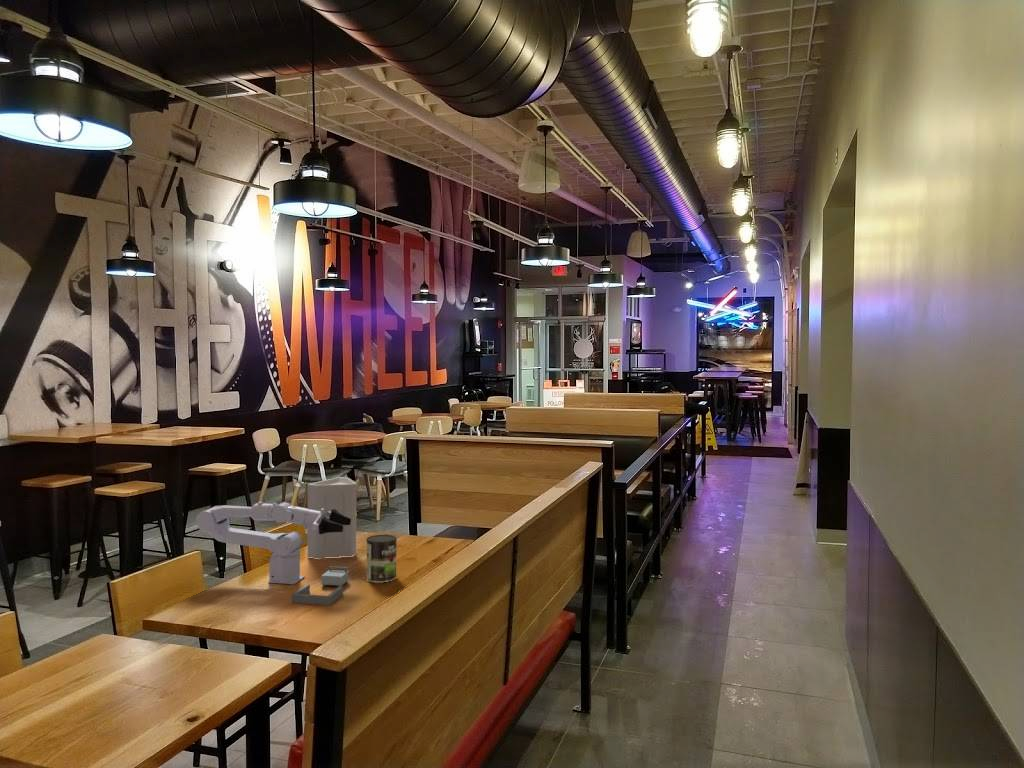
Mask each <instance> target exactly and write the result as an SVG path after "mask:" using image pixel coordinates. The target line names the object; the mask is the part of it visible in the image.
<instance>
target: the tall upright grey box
mask: <svg viewBox="0 0 1024 768" xmlns="http://www.w3.org/2000/svg"><path fill="white" fill-rule="evenodd" d="M322 508H324V509H325V512H328V511H330V512H331V510H332V509H336V510H337V511H338V512H339V513H340V514H342V515H344V516H346V517H348V518H350V519H351V523H350V525H343V531H342V532H330V533H324V534H319V529H318V530H312V527H308V526H307V558H308V557H313V558H325V557H339V556H352V555H354V554H356V555H357V482H356V481H355V480H352V479H351V478H350V477H345V476H337V477H333V478H329V479H323V480H320V481H317V482H311V483H308V484H307V509H312V510H317V511H321V509H322Z"/></svg>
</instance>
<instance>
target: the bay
mask: <svg viewBox="0 0 1024 768" xmlns="http://www.w3.org/2000/svg"><path fill="white" fill-rule="evenodd" d="M343 589H344V586H343V585H342V586H338V587H337V588H335V589H334V590H333V591H331V592H330V593H329V594H328V595H322V594H321V595H319V594H309V593H310V591H311V585H310V584H307V583H306V584H304V585H302V587H300V588H299V589H297V590H296V591H295V592H293V593H292V594H291V604H302V605H303V604H304V605H305V604H306V605H317V606H319V605H320V606H331V605H332V604H333V603H334V602H336V601H337V600H338V599H339V598H340V597H342V596H343V594H344V593H343V592H344V590H343ZM336 599H337V600H336Z"/></svg>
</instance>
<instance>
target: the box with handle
mask: <svg viewBox="0 0 1024 768" xmlns="http://www.w3.org/2000/svg"><path fill="white" fill-rule="evenodd" d="M348 581H349V570H348V567H347V566H336V565H335V566H333V565H330V566H328V570H327V571H325V572H324V573H322V574H321V581H320V583H321V585H322V587H326V585H327V586H338V587H339V586H342V587H343V586H344V584H347V583H348ZM346 582H347V583H346Z"/></svg>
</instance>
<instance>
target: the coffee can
mask: <svg viewBox="0 0 1024 768" xmlns="http://www.w3.org/2000/svg"><path fill="white" fill-rule="evenodd" d="M365 540H366V579H367V580H368V581H367V580H366V581H367V582H369V581H370V582H369V583H372V582H377V583H376V584H384V583H383V582H387V583H389V582H388V581H391V580H393V579H394V578H395V577H396V578H397V541H398V538H397V536H395V535H391V534H375V535H374V534H373V535H370V536H368V537H366V539H365ZM391 582H392V581H391Z"/></svg>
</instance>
